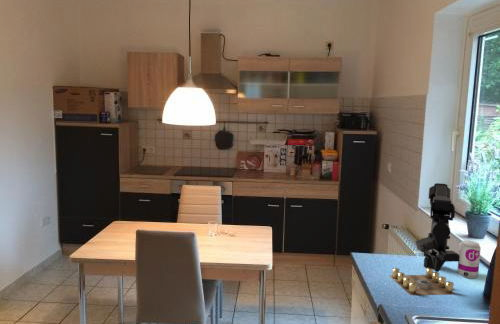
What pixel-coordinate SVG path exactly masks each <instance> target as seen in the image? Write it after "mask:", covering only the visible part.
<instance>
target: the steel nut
mask: <svg viewBox="0 0 500 324" xmlns="http://www.w3.org/2000/svg"><path fill="white" fill-rule="evenodd" d="M416 283H417V285H416V286H417V287H418V288H420V289H425V290H428V289H431V285H432V283H430V282H429V281H427V280H421V279H420V280H417V281H416Z"/></svg>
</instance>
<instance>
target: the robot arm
mask: <svg viewBox="0 0 500 324" xmlns="http://www.w3.org/2000/svg"><path fill="white" fill-rule="evenodd" d="M428 200H429V204H430V211H429V212H430V213H429V214H430V215H429V216H430V217H429V218H430V219H431V226H430V227H431V229H430V232H429V233H428V235H427V237H423V238H421V239H417V240H415V245H416V249H417V250H418V251H420V252H422V253H423V257H424V258H423V267H424V268H425V269H426V268H432V269H433V271H434V272H438V273H440V272H439V271H440V270H441V269H442V267H443V266H444V264H445V263H446V262H447V263H448V262H449V263H450V262H458V261H459V260H460V256H459V253H458V252H456V251H455V250H450V246H449V245H448V240H450V239H451V236H450V235H451V228H450V221H453V220H454V219H455V215H456V209H455V205H454V203H452V199H451V188H450V187H448V184H446V183H438V182H436V183H434V185H432V186H430V187H429V189H428Z"/></svg>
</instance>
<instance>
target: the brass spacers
mask: <svg viewBox="0 0 500 324" xmlns="http://www.w3.org/2000/svg"><path fill="white" fill-rule="evenodd" d="M425 269H426V270H425V275H426V278H428V279H432V282H433V283H439V285H438V287H439V288H445V287H446V289H445V292H446V293H449V294H452V293H454V282H452V281H447V277H445V276H440V272H436V271H434V270H433V269H432V268H425ZM391 273H392V274H391V275H392V278H393V279H398V280H397V283H399V284H403V288H405V289H409V293H410V294H416V285H417V283H415V282H410V278H409V277H404V275H406V274H405V273H404V272H402V271H400V269H399V268H397V267H392V272H391ZM392 278H391V279H392ZM393 279H392V280H393ZM397 283H396V284H397ZM399 284H398V285H399ZM403 288H402V289H403ZM409 293H408V294H409ZM410 294H409V295H410Z"/></svg>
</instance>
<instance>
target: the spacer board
mask: <svg viewBox="0 0 500 324" xmlns="http://www.w3.org/2000/svg"><path fill="white" fill-rule="evenodd" d="M388 277H390V278H391V279H392V280H393V281H394V282H395V283H396V284H397V285H399V286H400V287H401V288H402V289H403V290H404V291H405V292H406V293H407V294H409V295H410V296H440V295H441V296H443V295H446V296H449V295H452V296H454V295H457V294H456V293H454V292H453V293H452V294H449V293H446V292H445V289H446V286H445V288H439V287H438V285H439V283H433V282H432V279H428V278H426V274H405V275H404V277H409V278H410V282H415V283H416V281H417V280H420V279H421V280H427V281H429V282H430V283H432V285H431V289H428V290H425V289H420V288H418V287H417V286H416V294H410V293H409V289H405V288H403V284H399V283H397V280H398V279H393V278H392V274H390V275H388Z"/></svg>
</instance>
